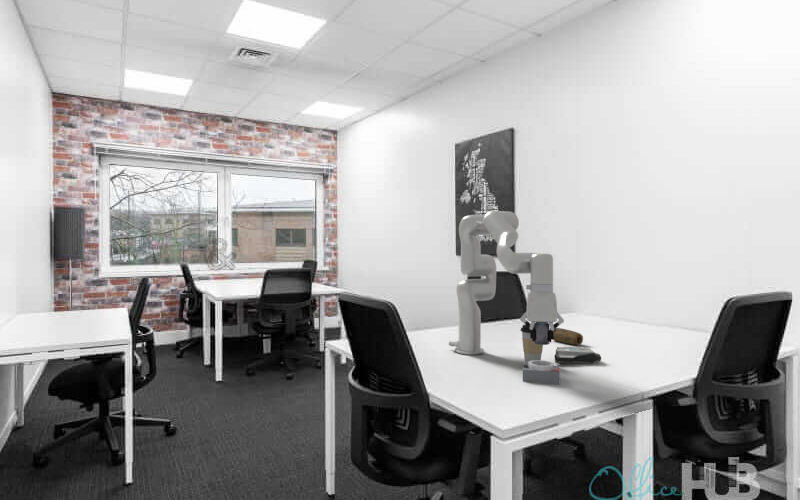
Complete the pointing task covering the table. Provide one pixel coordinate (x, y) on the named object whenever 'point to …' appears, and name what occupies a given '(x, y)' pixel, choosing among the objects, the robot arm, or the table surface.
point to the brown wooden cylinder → (567, 336)
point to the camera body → (541, 372)
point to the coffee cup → (530, 346)
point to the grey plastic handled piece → (576, 355)
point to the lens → (541, 333)
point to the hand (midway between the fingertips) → (541, 340)
